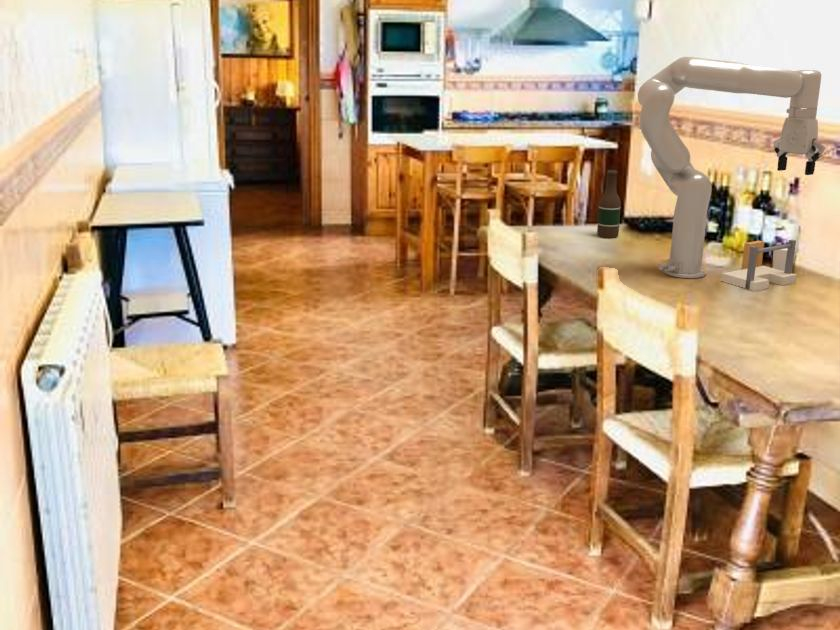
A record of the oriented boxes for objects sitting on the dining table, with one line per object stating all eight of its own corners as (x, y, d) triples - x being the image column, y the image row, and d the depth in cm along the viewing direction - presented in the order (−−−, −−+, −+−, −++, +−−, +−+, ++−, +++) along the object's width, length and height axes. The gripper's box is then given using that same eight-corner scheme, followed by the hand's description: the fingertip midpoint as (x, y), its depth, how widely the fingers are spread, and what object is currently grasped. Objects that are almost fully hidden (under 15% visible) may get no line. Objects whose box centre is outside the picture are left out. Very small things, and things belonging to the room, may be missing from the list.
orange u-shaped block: (761, 267, 280) (764, 241, 278) (746, 270, 277) (749, 244, 275) (756, 266, 282) (759, 240, 279) (741, 269, 279) (744, 242, 276)
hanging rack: (754, 291, 255) (759, 248, 251) (721, 281, 265) (726, 240, 261) (795, 282, 264) (801, 241, 260) (762, 273, 274) (767, 233, 270)
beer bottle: (620, 238, 318) (625, 172, 311) (598, 238, 319) (603, 172, 311) (616, 234, 326) (620, 168, 318) (595, 234, 326) (599, 168, 319)
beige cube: (795, 273, 274) (798, 251, 272) (772, 272, 275) (775, 250, 273) (791, 267, 281) (794, 246, 278) (768, 266, 282) (771, 245, 280)
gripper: (769, 112, 264) (762, 169, 270) (819, 116, 250) (811, 177, 255) (786, 111, 268) (779, 167, 273) (837, 115, 253) (828, 175, 259)
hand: (795, 172), depth 264 cm, fingers open, 9 cm apart
